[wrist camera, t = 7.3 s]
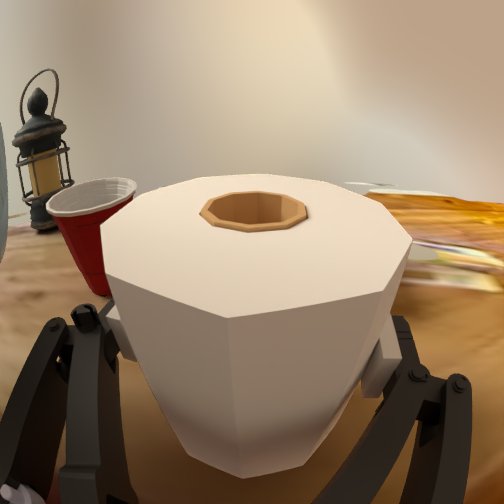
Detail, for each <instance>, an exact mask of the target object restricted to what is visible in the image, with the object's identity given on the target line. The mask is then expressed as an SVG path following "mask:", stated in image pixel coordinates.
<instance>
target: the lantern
mask: <svg viewBox="0 0 504 504" xmlns="http://www.w3.org/2000/svg"><path fill="white" fill-rule="evenodd" d="M45 71H52V72H53V74H54V75H55V79H56V93H55V99H54V103H53V108H52V112H51V116H50V115H47V114H45V111H46V109H47V106H48V98H47V95H46V94H45V93H44V92H43V91H42V90H41V89H40V88H36V89H35V90H34V92H33V93H32V95H31V96H30V98H29V99H28V104H27V107H28V111H29V113H30V114H31V115H32V118H31V119H30V120H29V121H28V122H27V123H25V120H24V117H23V111H22V103H23V97H24V95H25V92H26V90H27V88H28V86H29V85H30V83H31V82H32V81H33V80H34V79H35V78H36V77H37V76H38V75H40V74H41V73H43V72H45ZM58 90H59V79H58V75H57V73H56V72H55V71H54V70H52V69H46V70H43V71H41V72H39V73H38V74H37V75H35V76H34V77H33V78H32V79H31V80H30V81H29V82H28V84H27V85H26V87H25V89H24V91H23V93H22V96H21V100H20V116H21V120H22V123H23V127H22V128H21V129H20V130H19V131H18V132H17V133H16V135H15V139H14V140H13V141H12V145H13V146H15V147H19V149H20V154H19V155H18V157H17V164H16V167H18V170H19V176H20V182H21V187H22V192H23V197H22V200H23V201H24V202H25V203H26V204H27V205H28V206H31V210H30V214H31V220H32V221H31V227H32V228H33V229H42V230H47V229H50V228H53V227H56V226H58V225H57V224H56V223H55V220H54V218H53V217H52V215H51V214H49V213H48V211H47V210H46V203H47V202H48V201H49V199H50V198H51V197H52V196H54V195H56V194H57V193H59V192H60V191H62V190H64V189H66V188H69V187H71V186H72V185H73V184H74V180H72V179H71V175H70V169H69V162H68V154H67V151H68V150H69V149H70V148H69V147H67V146H66V143H65V141H63V140H62V139H61V134H63V133H64V132H65V130H66V129H67V128H66V125H64V124H63V121H62V120H60V119H56V118H54V111H55V107H56V103H57V97H58V92H59V91H58ZM61 142H62V143H63V144H64V147H65V148H60V149H59V146H61ZM56 148H57V149H56ZM64 152H65V154H66V163H67V170H68V176H69V179H66V180H64V179H63V173H62V166H61V159H60V154H61V153H64ZM20 155H21V157H22V158H27V159H25V160H23V161H20V162H19V157H20ZM57 155H58V161H59V168H60V174H61V180H60V174H59V168H58V161H57ZM27 164H28V167H29V173H30V179H31V184H32V189H33V190H32V191H30V192H28V193H26V194H25V192H24V187H23V182H22V177H21V171H20V166H24V165H27ZM64 183H70V184H68V185H66V186H65V184H64ZM61 184H62V186H63V187H62V186H61ZM31 194H34V197H31V198H26V197H28V196H29V195H31ZM30 201H32V204H29V203H28V202H30Z"/></svg>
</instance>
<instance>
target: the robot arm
mask: <svg viewBox="0 0 504 504" xmlns="http://www.w3.org/2000/svg"><path fill="white" fill-rule="evenodd" d="M7 230H8V187H7V169H6V157H5V147H4V140H3V133H2V127H1V123H0V263H1V260H2V258H3V255H4V251H5V247H6V241H7ZM70 315H71V317H72V319H73V321H74V323H75V325H67V324H66V322H65V320H64V319H63V318H60V317H56V318H53V319H51V320H49V321H48V322H47V323H46V324H45V326H44V328H43V329H42V331H41V333H40V335H39V337H38V339H37V340H36V342H35V344H34V346H33V348H32V350H31V352H30V354H29V356H28V358H27V360H26V362H25V364H24V366H23V368H22V371H21V373H20V375H19V377H18V379H17V382H16V384H15V386H14V389H13V391H12V393H11V396H10V398H9V401H8V403H7V406H6V409H5V411H4V414H3V417H2V420H1V422H0V504H45V501H46V499H47V497H48V494H49V491H50V488H51V484H52V479H53V474H54V468H55V463H56V458H57V454H58V449H59V445H60V441H61V436H62V433H63V429H64V425H65V421H66V465H65V466H64V467H62V468H60V470H59V475H58V480H59V492H60V502H61V504H139V502H138V498H137V496H136V493H135V492H134V490H133V488H132V486H131V484H130V479H129V474H128V468H127V461H126V455H125V447H124V439H123V430H122V420H121V408H120V391H119V361H118V357H117V354H118V353H119V351H121V353H122V355H123V358H125V359H128V360H131V361H134V362H137V361H138V360H137V358H136V356H135V354H134V351H133V349H132V346H131V344H130V342H129V339H128V337H127V334H126V332H125V329H124V326H123V324H122V321H121V318H120V316H119V313H118V310H117V307H116V304H115V302H114V299H113V297H112V298H111V299H110V301H109V302H108V303H107V304H106V305H105V306H104V308H103V309H102V310H101V311H100V312H99V313H97V310H96V308H95V307H94V305H92V304H82V305H79V306H77V307H76V308H75V309H74V310H73V311H72V312H71V314H70ZM58 356H59V358H60V359H59V361H58V362H57V361H56V360H57V358H58ZM361 389H362V398H379V396H380V395H381V393H382V392H383V396H384V400H383V401H382V402H381V404H380V405H379V407H378V408H377V410H376V411H375V412H376V413H375V415H374V416H373V418H372V420H371V422H370V423H369V425H368V427H367V428H366V430H365V431H364V433H363V435H362V436H361V438H360V439H359V441H358V442H357V444H356V445H355V447H354V448H353V450H352V451H351V453H350V454H349V456H348V457H347V459H346V460H345V461H344V463H343V464H342V465H341V467H340V468H339V470H338V471H337V472H336V474H335V475H334V476H333V477H332V479H331V480H330V481H329V483H328V484H327V485H326V486H325V488H324V489H323V490H322V491H321V492H320V494H319V495H318V496H317V497H316V498H315V499H314V501H313V502H312V503H311V504H370V503H371V501H372V500H373V498H374V497H375V495H376V494H377V492H378V490H379V489H380V487H381V486H382V484H383V482H384V481H385V479H386V477H387V476H388V474H389V472H390V470H391V469H392V467H393V465H394V463H395V461H396V460H397V458H398V456H399V454H400V452H401V450H402V448H403V446H404V444H405V442H406V440H407V438H408V436H409V433H410V431H411V429H412V427H413V425H414V422H415V420H418V427H417V433H416V439H415V444H414V449H413V454H412V459H411V463H410V467H409V471H408V475H407V479H406V483H405V486H404V490H403V493H402V496H401V500H400V503H399V504H463V499H464V494H465V489H466V483H467V477H468V470H469V461H470V451H471V436H472V388H471V384H470V382H469V380H468V379H467V378H466V377H465V376H464V375H461V374H452V375H450V377H449V378H448V379H447V380H445V379H441V378H437V377H434V376H431V375H430V372H429V370H428V369H427V368H426V367H425V366H423V365H422V364H420V361H419V357H418V353H417V350H416V346H415V343H414V340H413V336H412V333H411V330H410V327H409V324H408V322H407V321H406V320H405V319H404V317H403V316H391V314H390V313H389V315H388V318H387V320H386V323H385V325H384V328H383V330H382V333H381V335H380V337H379V340H378V342H377V344H376V347H375V349H374V351H373V353H372V356H371V358H370V360H369V362H368V364H367V366H366V368H365V371H364V373H363V375H362V377H361Z"/></svg>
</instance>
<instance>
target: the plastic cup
mask: <svg viewBox="0 0 504 504" xmlns="http://www.w3.org/2000/svg"><path fill="white" fill-rule="evenodd" d="M136 186H137V183H136V182H134V181H133V180H131V179H125V178H103V179H97V180H91V181H87V182H83V183H80V184H76V185H74V186H71V187H69V188H66V189H64V190H62V191H60V192H59V193H57V194H56V195H54V196H52V197H51V198H50V199H49V201H48V202H47V203H46V210H47V211H48V213H49V214H51V215H52V217H53V218H54V220H55V223H56V224H57V225H58V228H59V230H60V232H61V233H62V235H63V237H64V239H65V242H66V244H67V246H68V248H69V250H70V252H71V254H72V256H73V258H74V260H75V262H76V264H77V266H78V268H79V270H80V271H81V272H82V274H83V276H84V278H85V280H86V282H87V284H88V286H89V288H90V289H91V290H92V291H93V292H94V293H96V294H97V295H104V296H105V295H111V294H112V293H111V290H110V286H109V283H108V280H107V277H106V274H105V267H104V259H103V250H102V241H101V229H100V225H101V224H103V223H104V222H105V221H106V220H108V219H109V218H110V217H111V216H113V215H114V214H115V213H117V212H118V211H119V210H120V209H122V208H123V207H124V206H126V205H127V204H128V203H130V202H131V201H132V200H133V195H134V194H135V191H136Z"/></svg>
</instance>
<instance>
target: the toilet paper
mask: <svg viewBox="0 0 504 504" xmlns="http://www.w3.org/2000/svg"><path fill="white" fill-rule="evenodd" d="M100 229H101V241H102V250H103V259H104V267H105V274H106V277H107V280H108V283H109V286H110V290H111V293H112V296H113V299H114V302H115V304H116V307H117V310H118V313H119V316H120V318H121V321H122V324H123V326H124V329H125V332H126V334H127V337H128V339H129V342H130V344H131V346H132V349H133V351H134V354H135V356H136V358H137V360H138V363H139V365H140V367H141V369H142V372H143V374H144V376H145V378H146V380H147V382H148V384H149V386H150V388H151V390H152V392H153V394H154V396H155V398H156V400H157V402H158V404H159V406H160V408H161V410H162V412H163V414H164V415H165V417H166V419H167V421H168V423H169V424H170V426H171V428H172V430H173V431H174V433H175V435H176V436H177V438H178V440H179V441H180V443H181V445H182V446H183V448H184V449H185V451H186V453H187V454H188V455H189V456H191V457H193V458H195V459H198V460H200V461H202V462H204V463H206V464H208V465H210V466H213V467H215V468H217V469H219V470H222V471H224V472H227V473H229V474H231V475H234V476H237V477H239V478H242V479H244V478H250V477H256V476H261V475H266V474H271V473H275V472H279V471H284V470H288V469H292V468H295V467H299V466H303V465H304V464H305V462H306V461H307V460H308V459H309V458H310V457H311V455H312V454H313V453H314V452H315V451H316V449H317V448H318V447H319V446H320V444H321V443H322V442H323V441H324V439H325V438H326V437H327V436H328V434H329V433H330V432H331V430H332V429H333V428H334V426H335V425H336V423H337V422H338V420H339V418H340V416H341V415H342V413H343V411H344V409H345V408H346V406H347V404H348V402H349V400H350V398H351V397H352V395H353V393H354V391H355V389H356V387H357V385H358V383H359V381H360V379H361V377H362V375H363V373H364V371H365V368H366V366H367V364H368V362H369V360H370V358H371V356H372V353H373V351H374V349H375V347H376V344H377V342H378V340H379V337H380V335H381V333H382V330H383V328H384V325H385V323H386V320H387V318H388V315H389V313H390V310H391V307H392V304H393V302H394V299H395V296H396V293H397V290H398V287H399V284H400V281H401V278H402V275H403V272H404V269H405V265H406V262H407V259H408V255H409V251H410V248H411V244H412V241H413V239H412V238H411V237H410V236H409V234H408V233H407V232H406V231H405V230H404V228H403V227H402V226H401V225H400V224H399V223H398V221H397V220H396V219H395V218H394V217H393V216H392V215H391V214H390V212H389V211H388V210H387V209H386V208H385V207H384V206H383V205H382V204H381V203H379V202H377V201H374V200H372V199H369V198H367V197H364V196H362V195H359V194H356V193H354V192H352V191H349V190H346V189H344V188H341V187H339V186H336V185H333V184H331V183H328V182H322V181H316V180H310V179H302V178H295V177H287V176H279V175H270V174H245V175H229V176H213V177H201V178H196V179H192V180H188V181H185V182H181V183H178V184H174V185H171V186H167V187H163V188H160V189H157V190H153V191H150V192H147V193H144V194H141V195H139V196H138V197H137V198H135V199H134V200H132V201H131V202H130V203H128V204H127V205H126V206H124V207H123V208H122V209H120V210H119V211H118V212H117V213H115V214H114V215H113V216H111V217H110V218H109V219H108V220H106V221H105V222H104V223H103V224H101V225H100Z"/></svg>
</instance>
